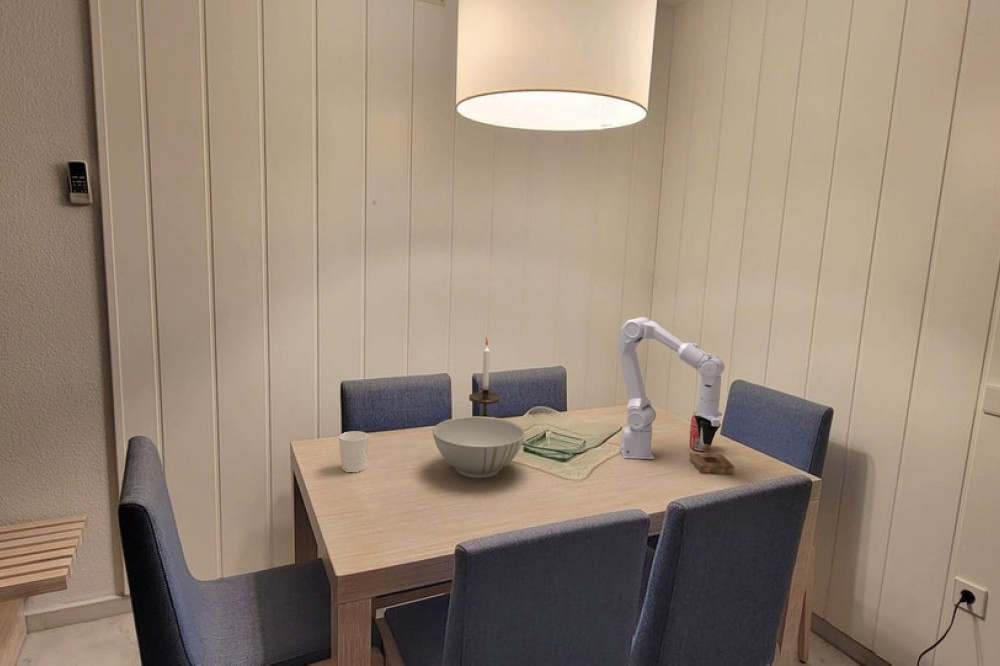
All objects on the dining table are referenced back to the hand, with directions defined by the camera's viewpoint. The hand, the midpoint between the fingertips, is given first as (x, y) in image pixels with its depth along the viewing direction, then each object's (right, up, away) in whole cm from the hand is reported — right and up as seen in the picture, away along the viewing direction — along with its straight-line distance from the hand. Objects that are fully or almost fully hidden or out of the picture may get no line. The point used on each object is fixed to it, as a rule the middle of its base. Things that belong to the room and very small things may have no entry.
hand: (705, 442), depth 175 cm
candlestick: (-67, -3, +24) cm, 71 cm away
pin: (0, -2, 0) cm, 2 cm away
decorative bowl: (-68, -8, -3) cm, 68 cm away
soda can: (+5, -6, +20) cm, 21 cm away
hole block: (+3, -9, +4) cm, 10 cm away
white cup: (-104, -7, -5) cm, 104 cm away
